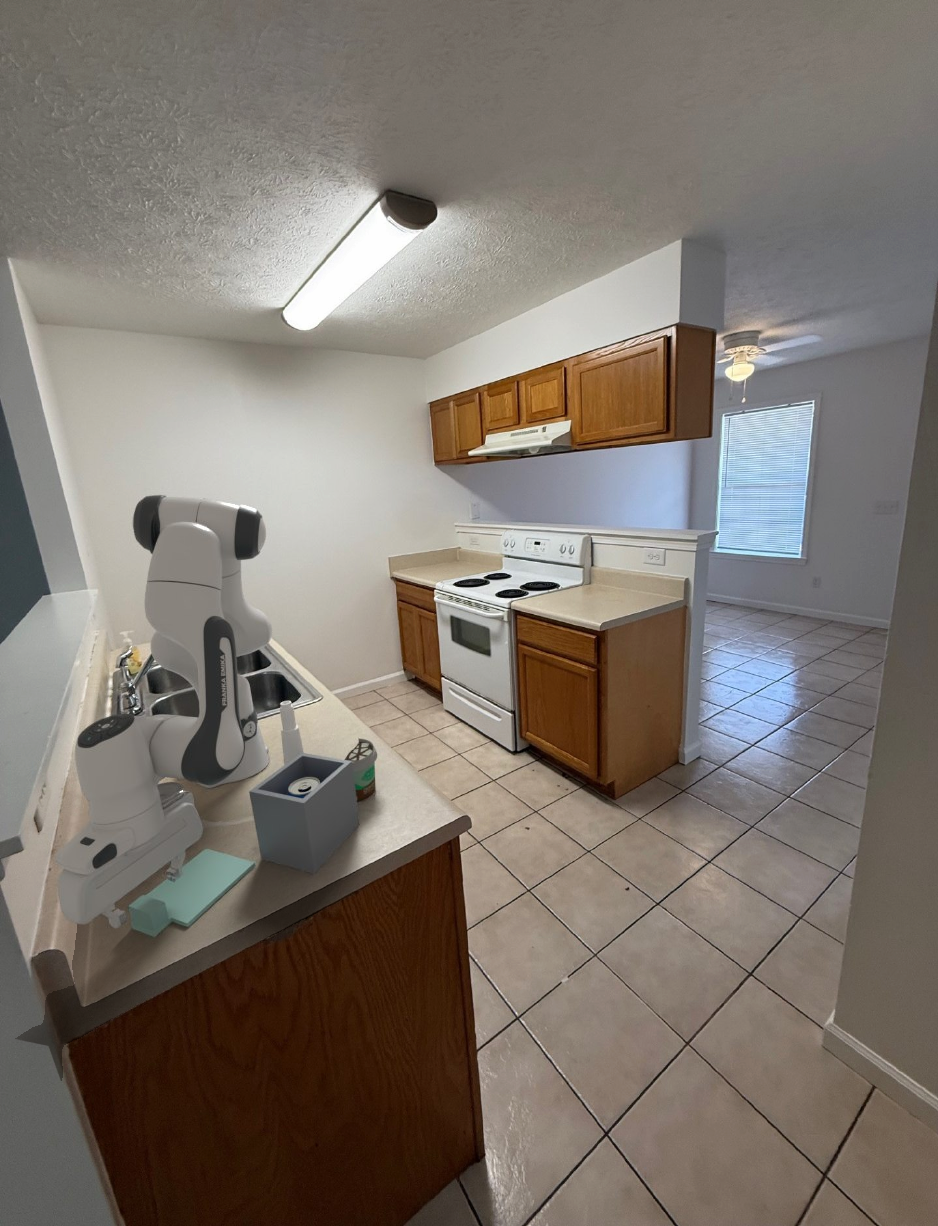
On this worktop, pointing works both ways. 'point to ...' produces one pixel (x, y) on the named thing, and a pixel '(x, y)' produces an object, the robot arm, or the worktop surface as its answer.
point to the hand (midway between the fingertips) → (148, 899)
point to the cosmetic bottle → (290, 733)
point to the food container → (363, 768)
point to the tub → (305, 812)
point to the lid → (188, 892)
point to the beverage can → (303, 787)
